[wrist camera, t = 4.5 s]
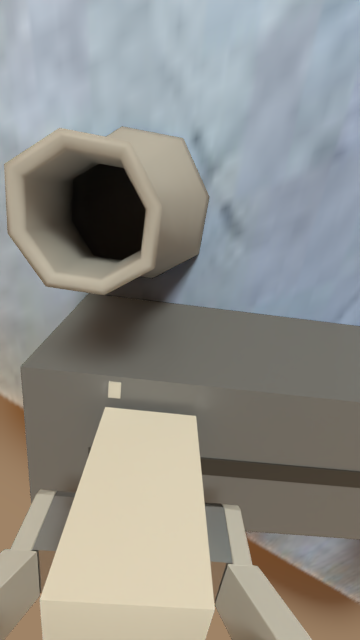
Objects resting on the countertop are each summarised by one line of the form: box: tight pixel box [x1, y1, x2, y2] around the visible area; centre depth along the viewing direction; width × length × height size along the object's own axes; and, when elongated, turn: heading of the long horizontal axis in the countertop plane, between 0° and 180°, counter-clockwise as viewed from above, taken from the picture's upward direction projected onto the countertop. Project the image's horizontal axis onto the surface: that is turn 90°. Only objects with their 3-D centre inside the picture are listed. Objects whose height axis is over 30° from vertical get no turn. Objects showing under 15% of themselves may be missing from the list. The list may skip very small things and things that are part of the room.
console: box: [21, 293, 360, 539], centre depth 15 cm, size 18×7×8 cm, turn 82°
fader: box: [40, 407, 215, 640], centre depth 8 cm, size 3×5×5 cm, turn 172°
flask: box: [4, 126, 209, 295], centre depth 11 cm, size 7×7×10 cm
